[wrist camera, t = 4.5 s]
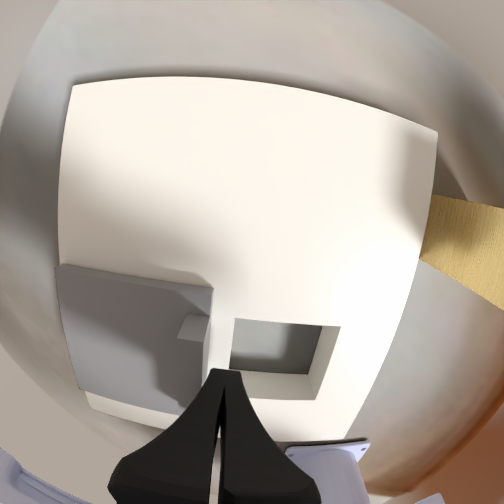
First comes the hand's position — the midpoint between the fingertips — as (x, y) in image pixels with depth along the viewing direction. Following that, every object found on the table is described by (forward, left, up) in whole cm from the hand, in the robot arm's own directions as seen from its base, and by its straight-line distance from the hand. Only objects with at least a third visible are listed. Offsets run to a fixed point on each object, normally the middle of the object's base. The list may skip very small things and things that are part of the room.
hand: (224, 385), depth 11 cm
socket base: (+3, 0, -4) cm, 5 cm away
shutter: (0, +5, -2) cm, 5 cm away
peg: (+8, -13, -4) cm, 16 cm away
